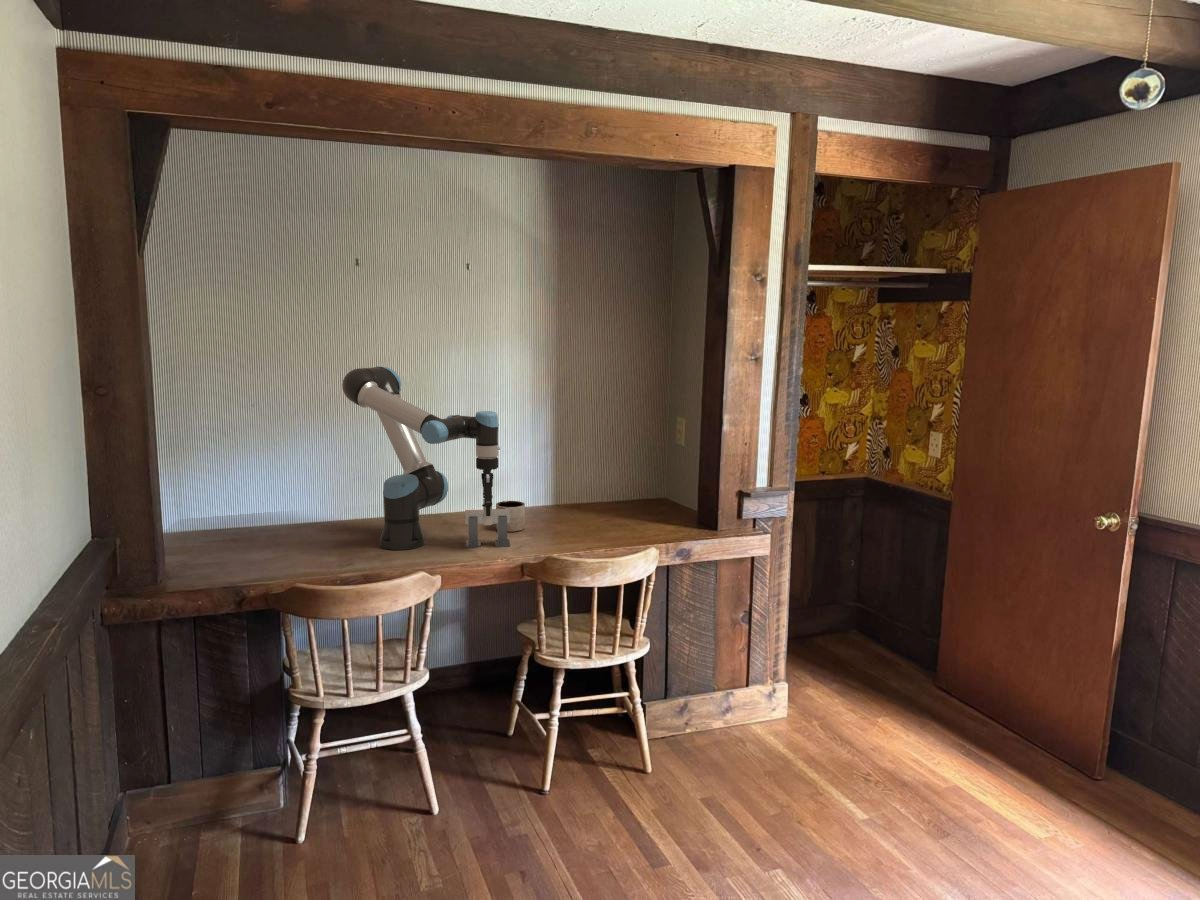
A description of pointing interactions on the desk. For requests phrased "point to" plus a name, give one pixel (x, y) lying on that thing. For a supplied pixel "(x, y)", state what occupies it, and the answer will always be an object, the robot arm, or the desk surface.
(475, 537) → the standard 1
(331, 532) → the desk surface
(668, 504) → the desk surface
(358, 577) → the desk surface
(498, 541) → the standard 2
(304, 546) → the desk surface
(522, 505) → the planter
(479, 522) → the rail
